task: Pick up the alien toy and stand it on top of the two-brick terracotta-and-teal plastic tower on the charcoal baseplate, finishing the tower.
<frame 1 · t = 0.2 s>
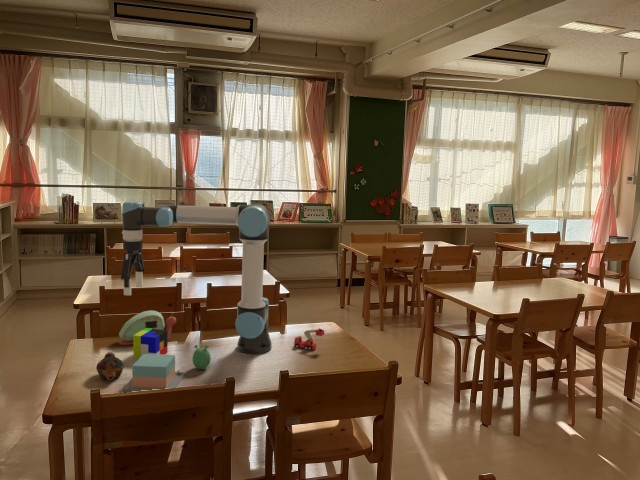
hand: (133, 291, 218), 28 cm above the table, fingers open, 13 cm apart
toy snail: (148, 341, 240), on the table
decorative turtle: (110, 377, 200), on the table
puzzle toy: (150, 356, 223), on the table
alien toy: (201, 369, 211), on the table
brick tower: (154, 382, 196), on the table
toy fire truck: (308, 348, 238), on the table
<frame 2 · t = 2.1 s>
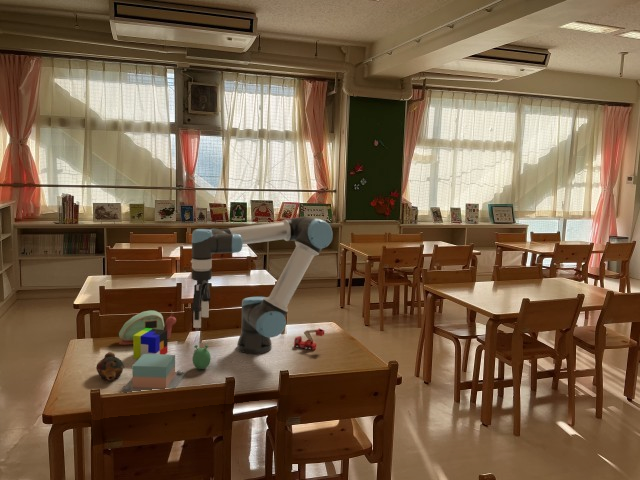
hand: (201, 322, 208), 19 cm above the table, fingers open, 13 cm apart
nothing on the table moved.
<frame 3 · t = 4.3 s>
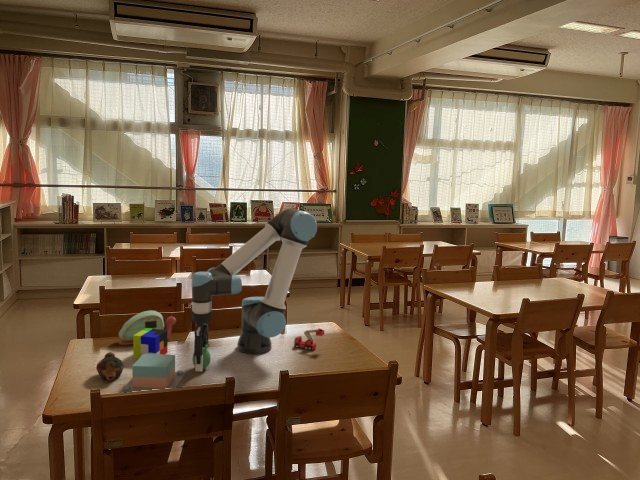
hand: (201, 366, 211), 1 cm above the table, fingers closed on alien toy, 8 cm apart
alien toy: (201, 368, 211), on the table, touching gripper
everything else where it was.
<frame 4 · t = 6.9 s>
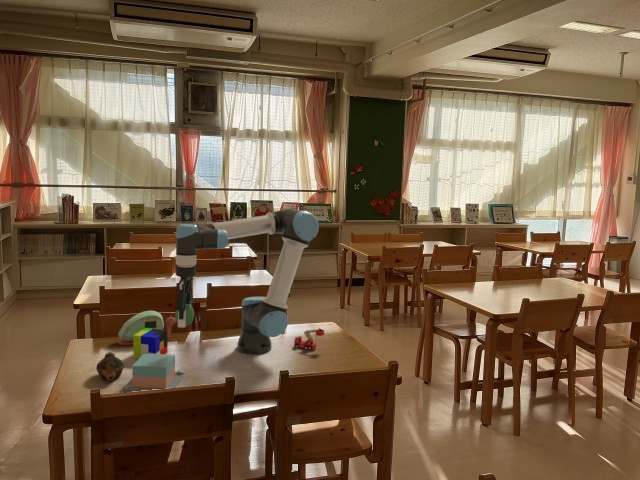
hand: (184, 323, 203), 20 cm above the table, fingers closed on alien toy, 8 cm apart
alien toy: (184, 326, 203), point 19 cm above the table, touching gripper
everything else where it was.
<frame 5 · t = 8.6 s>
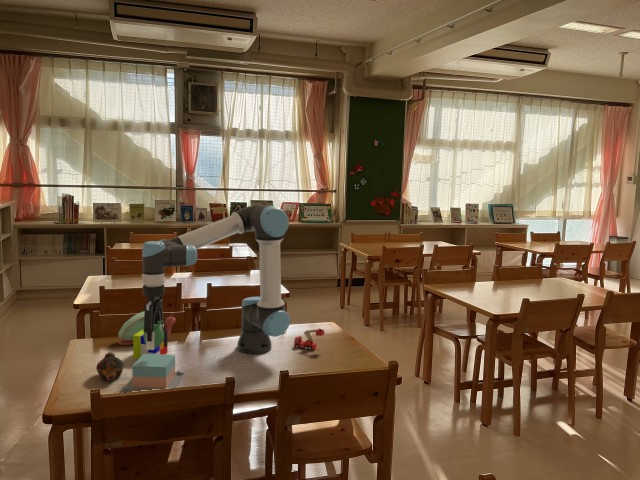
hand: (154, 345, 194), 15 cm above the table, fingers closed on alien toy, 8 cm apart
alien toy: (153, 347, 194), point 14 cm above the table, touching gripper
everything else where it was.
when the fingers open (11 cm above the table, at t = 9.6 s): alien toy drops 1 cm, resting on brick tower.
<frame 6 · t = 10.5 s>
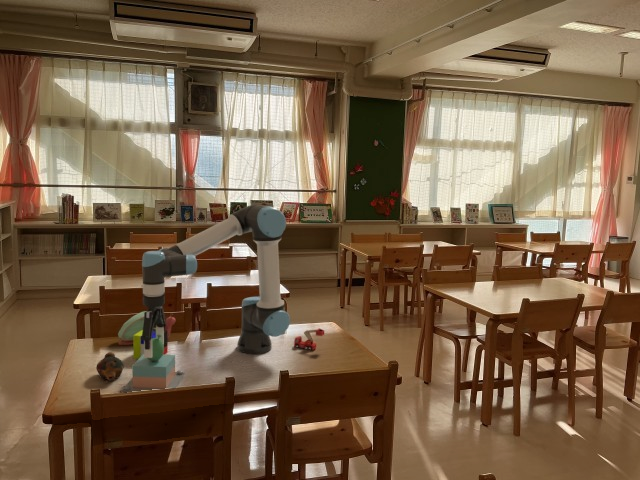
hand: (154, 350, 194), 13 cm above the table, fingers open, 13 cm apart
alien toy: (154, 360, 195), point 9 cm above the table, touching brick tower
everything else where it was.
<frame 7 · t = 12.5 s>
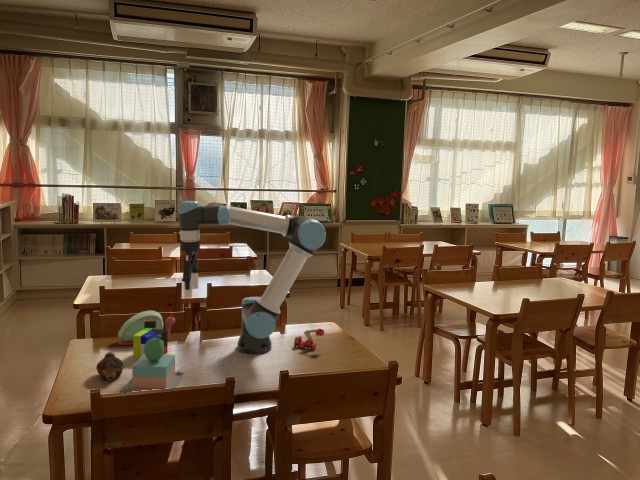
hand: (191, 292, 212), 29 cm above the table, fingers open, 13 cm apart
nothing on the table moved.
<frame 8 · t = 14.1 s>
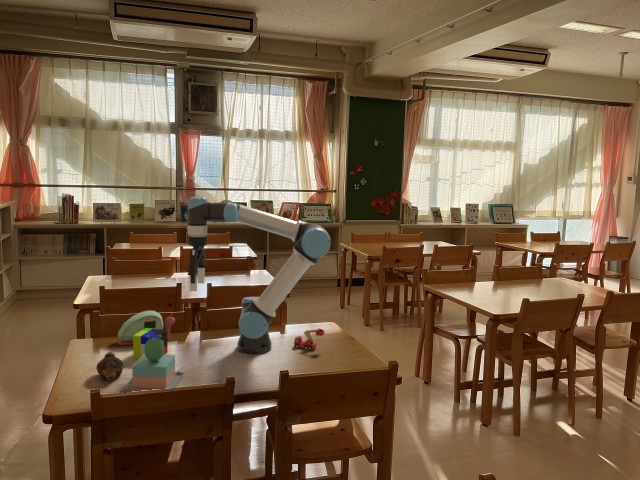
hand: (197, 287, 216), 31 cm above the table, fingers open, 13 cm apart
nothing on the table moved.
at the end: alien toy inside the target area on the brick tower (0.0 cm from its centre), point 8.6 cm above the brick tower's base; alien toy tilted 0°; the gripper is holding nothing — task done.
